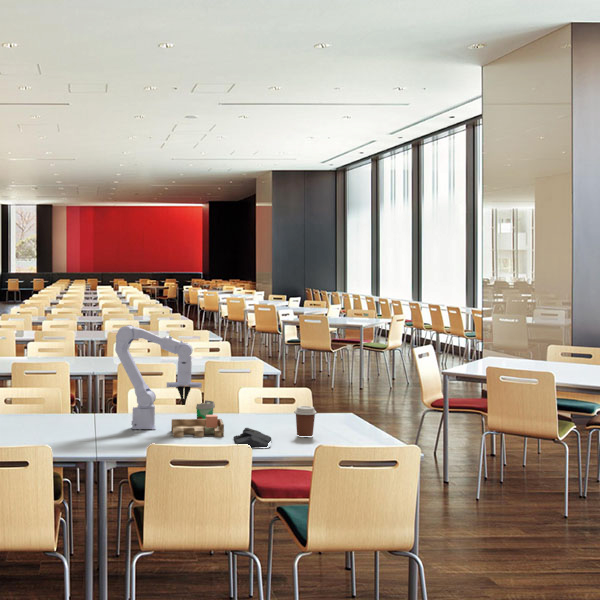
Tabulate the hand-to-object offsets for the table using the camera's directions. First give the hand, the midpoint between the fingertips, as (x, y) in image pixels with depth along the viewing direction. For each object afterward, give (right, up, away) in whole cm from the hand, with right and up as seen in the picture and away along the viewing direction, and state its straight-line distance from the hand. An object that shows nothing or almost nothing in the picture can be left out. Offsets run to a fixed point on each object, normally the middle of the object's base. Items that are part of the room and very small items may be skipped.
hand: (183, 404), depth 350 cm
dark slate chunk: (+30, -13, -25) cm, 41 cm away
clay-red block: (+12, -8, -6) cm, 16 cm away
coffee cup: (+51, -12, -9) cm, 53 cm away
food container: (+9, -11, +11) cm, 17 cm away
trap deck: (+7, -11, -10) cm, 16 cm away
